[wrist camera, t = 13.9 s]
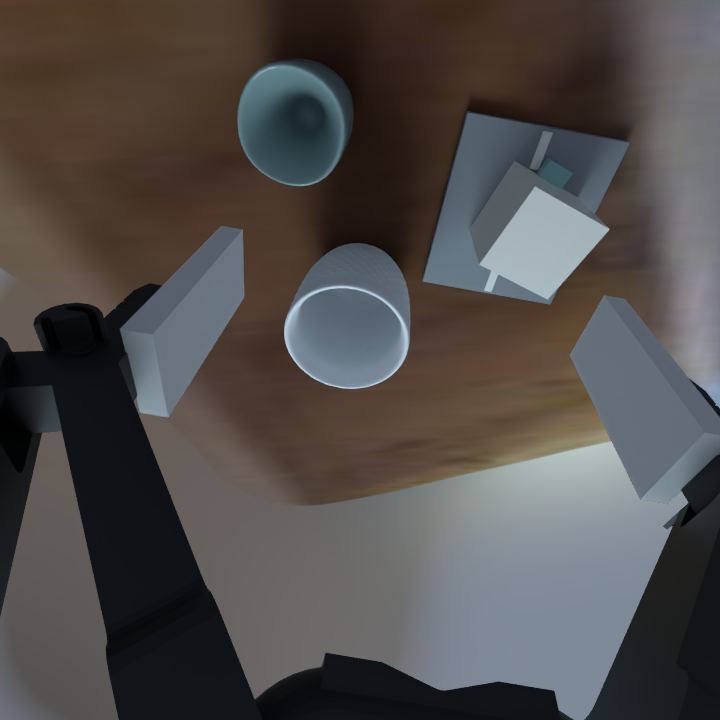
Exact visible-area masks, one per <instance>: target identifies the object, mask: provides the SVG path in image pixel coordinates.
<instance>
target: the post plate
mask: <svg viewBox="0 0 720 720" xmlns="http://www.w3.org/2000/svg"><path fill="white" fill-rule="evenodd" d="M629 144H630V143H629V142H627V141H625V140H620V139H614V138H609V137H604V136H598V135H593V134H588V133H582V132H577V131H572V130H566V129H561V128H556V127H550V126H545V125H540V124H534V123H529V122H524V121H518V120H513V119H508V118H503V117H497V116H492V115H487V114H481V113H476V112H471V111H466V115H465V119H464V123H463V126H462V130H461V134H460V138H459V141H458V145H457V149H456V153H455V156H454V160H453V164H452V168H451V171H450V175H449V179H448V183H447V187H446V190H445V194H444V198H443V202H442V205H441V209H440V213H439V217H438V220H437V224H436V228H435V232H434V235H433V239H432V243H431V247H430V251H429V254H428V258H427V262H426V266H425V269H424V273H423V277H422V279H423V282H429V283H434V284H440V285H445V286H451V287H456V288H462V289H468V290H473V291H479V292H484V293H490V294H495V295H501V296H506V297H512V298H517V299H523V300H528V301H534V302H539V303H545V304H551V302H552V300H553V298H554V296H555V294H556V292H557V290H556V291H555V292H554V293H553V294H552V295H551V296H550V298H549V299H548V300H547V299H545V298H543V297H541V296H540V295H538V294H536V293H534V292H532V291H530V290H528V289H526V288H524V287H522V286H520V285H518V284H516V283H514V282H512V281H510V280H508V279H506V278H504V277H502V276H501V275H499V274H497V273H495V272H493V271H491V270H489V269H487V268H485V267H483V266H481V265H479V262H478V259H477V255H476V252H475V248H474V245H473V242H472V238H471V235H470V231H469V229H470V227H471V226H472V224H473V223H474V221H475V220H476V218H477V217H478V215H479V214H480V212H481V211H482V209H483V207H484V206H485V204H486V203H487V201H488V200H489V198H490V197H491V195H492V194H493V192H494V191H495V189H496V188H497V186H498V185H499V183H500V182H501V180H502V179H503V177H504V176H505V174H506V173H507V171H508V170H509V168H510V167H511V165H512V164H513V162H514V161H516V162H517V163H519V164H521V165H523V166H524V167H526V168H528V169H529V170H531V171H533V172H535V173H536V172H537V170H539V168H540V166H541V165H542V163H543V162H544V160H545V159H546V158H547V157H548V158H550V159H552V160H553V161H555V162H557V163H558V164H560V165H562V166H563V167H565V168H567V169H568V170H570V171H571V172H572V173H573V174H572V176H571V177H570V178H569V180H568V181H567V182H566V184H565V185H564V186H563V188H562V189H564V190H566V191H567V192H569V193H571V194H573V195H574V196H576V197H578V198H579V199H580V200H581V201H582V202H583V203H584V204H585V205H586V206H587V207H588V208H589V209H590V210H591V211H592V212H593V213H594V214H595V213H596V211H597V209H598V207H599V204H600V202H601V200H602V198H603V196H604V194H605V192H606V190H607V188H608V186H609V184H610V182H611V180H612V178H613V176H614V174H615V172H616V170H617V168H618V166H619V164H620V162H621V160H622V158H623V156H624V154H625V152H626V150H627V148H628V146H629ZM557 289H558V288H557Z"/></svg>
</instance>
